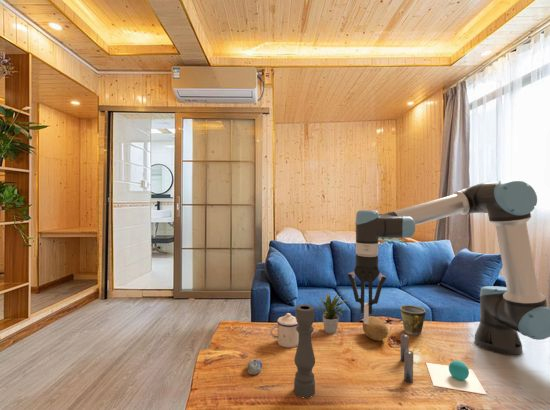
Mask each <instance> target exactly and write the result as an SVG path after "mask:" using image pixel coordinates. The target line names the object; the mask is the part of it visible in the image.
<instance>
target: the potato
mask: <svg viewBox="0 0 550 410" xmlns="http://www.w3.org/2000/svg"><path fill="white" fill-rule="evenodd" d="M362 330H363V332H364V334H365V335H366V337H368V338H370V339H371V340H374V341H375V342H376V341H377V342H378V341H380V342H381V341H382V340H384V339H387V336H388V335H389V329H388V326H387V324H386V323H385V322H384V321H383V320H382V319H380V318H378V317H376V316H373V315H372V316H370V315H369V323H368V324H364V320H362Z"/></svg>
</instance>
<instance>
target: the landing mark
mask: <svg viewBox="0 0 550 410" xmlns="http://www.w3.org/2000/svg"><path fill="white" fill-rule="evenodd" d="M425 365H426V367H427V370H428V374H429V376H430V379H431V383H432V385H433V387H437V388H438V387H439V388H443V389H447V390H448V389H449V390H455V391H461V392H467V393H472V394H478V395H484V396H488V395H487V392H486V390H485V389H484V387H483V385H482V384H481V382H480V381H479V379H478V377H477V376H476V374H475V372H474V371H473V369H471V368H468V370H469V375H468V377H467V378H466V379H465V380H458V379H455V378H454V377H453V376H452V375H451V374H450V372H449V365H444V364H439V363H431V362H425Z"/></svg>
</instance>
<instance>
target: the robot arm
mask: <svg viewBox="0 0 550 410" xmlns="http://www.w3.org/2000/svg"><path fill="white" fill-rule="evenodd" d="M537 204H538V196H537V192H536V191H535V189H534V188H533V187H532V186H531V185H530V184H529V183H527V182H525V181H523V180H520V179H519V180H518V179H505V180H496V181H484V182H481V183H477V184H475V185H472V186H469V187H466V188H463V189H460V190H456V191H454V192H453V193H452V195H451V194H450V195H448V196H444V197H441V198H437V199H433V200H429V201H426V202H422V203H419V204H415V205H411V206H407V207H404V208H400V209H396V210H394V211H393V210H392V211H389V212H386V213H379V210H374V209H373V210H368V209H366V210H365V209H364V210H363V209H362V210H361V209H360V210H358V211H357V212H356V217H355V254H356V255H355V267H354V270H353V271H351V272H348V274H347V278H348V279H349V280H350V284H351V290H352V292H353V296H354V299H355V302H356V303H359V304H360V313H361V314H363V321H364V324H368V323H369V316H370V315H372V314H373V305H378V303H379V299H380V295H381V291H382V288H383V284H384V283H385V281H386V280H387V276H386V275H384V274H382V273H381V271H380V269H379V256H378V254H379V238H380V239H381V238H382V239H384V238H385V239H393V238H394V239H408V238H409V239H410V238H412V237H413V236H414V235H415V233H416V226H417V225H422V224H425V223H426V224H427V223H430V222H432V221H436V220H441V219H444V218H447V217H451V216H452V217H453V216H456V215H459V214H460V215H462V216H465V215H469V214H482V213H483V214H487V216H488V221H489V223H492V224H493V225H494V226H495V230H496V236H497V241H498V248H499V252H500V257H501V263H502V269H503V275H504V281H505V285H506V286H497V285H495V286H494V285H490V286H489V285H488V286H487V285H486V286H482V287H481V288H480V294H479V297H480V298H479V302H480V303H479V324H478V326H477V329H476V331H475V333H474V343H475V344H476V345H477V346H478V347H481V348H483V349H484V350H487V351H490V352H493V353H496V354H501V355H505V356H506V355H507V356H518V355H520V354H522V353H523V344H522V341H521V338H520V336H519V334H521V335H523V336H524V337H528V338H530V339H532V340H536V341H537V340H545V339H548V338H550V307H548V303H547V299H546V298H547V297H546V296H545V295H544V293H542V292H540V291H539V285H538V279H537V274H536V271H535V269H536V268H535V264H534V257H533V253H532V247H531V243H530V236H529V235H530V234H529V231H528V225H527V222H528V221H530V219H531V218H532V214H531V213H532V212H533V211H534V209H535V207H536V206H537ZM356 277H357V278H358V280H359V281H360V296H359V292H358V288H357V283H356V279H355V278H356ZM377 278H378V283H377V287H376V290H375V295H374V298H373V282H374V281H375V280H376V279H377ZM366 282H367V283H368V302H365V292H366V291H365V288H366V287H365V284H366Z"/></svg>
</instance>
